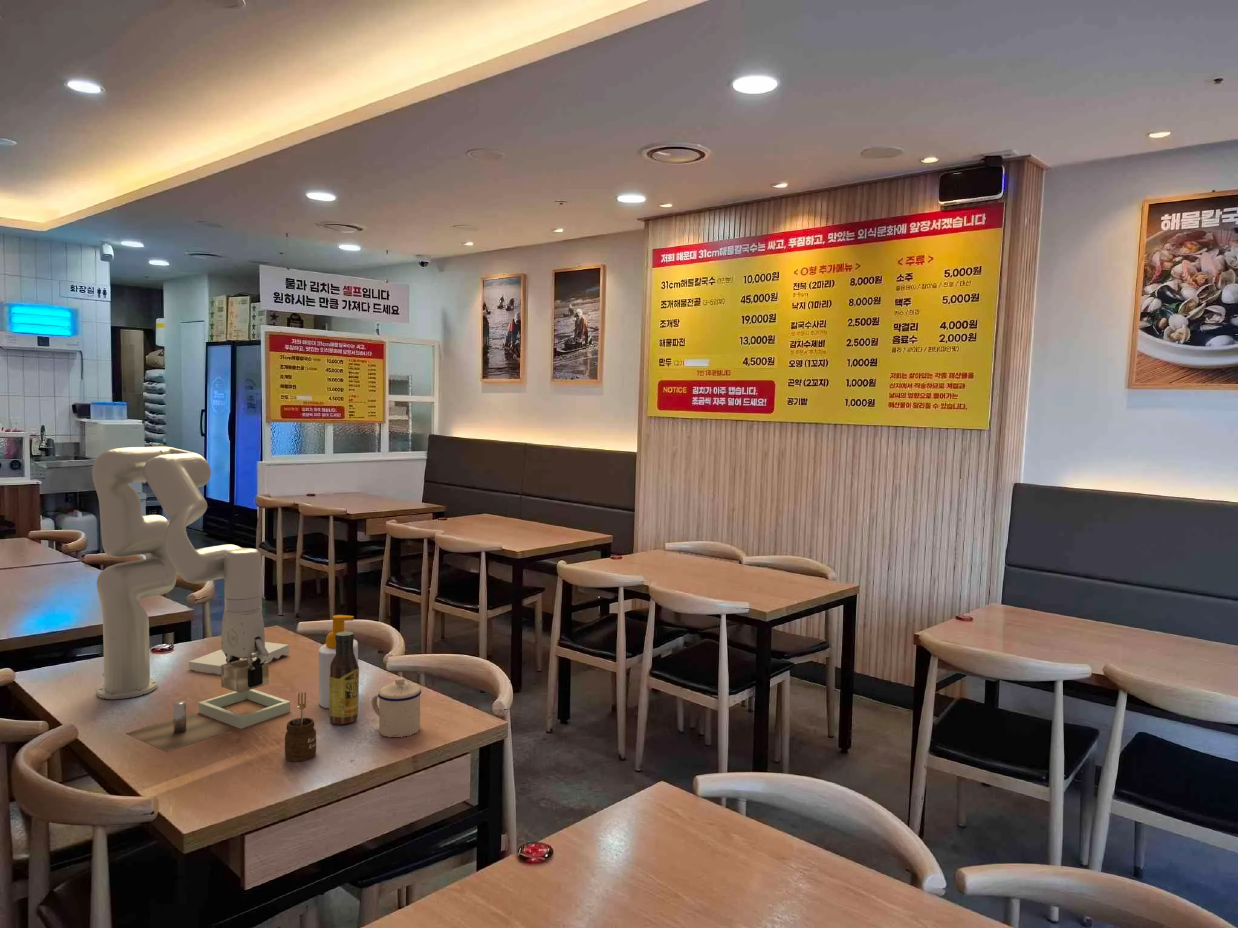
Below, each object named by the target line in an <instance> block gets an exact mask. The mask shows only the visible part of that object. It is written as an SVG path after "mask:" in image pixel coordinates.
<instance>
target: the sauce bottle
mask: <svg viewBox="0 0 1238 928" xmlns="http://www.w3.org/2000/svg"><path fill="white" fill-rule="evenodd" d="M345 631H346V632H338V633H336V634H335V640H336V655H335V657H334V658H333V660H332V662H331V665H330V688H329V708H328V709H329V710H328V711H329V712H328V714H329V720H330V723H331V724H333V725H348V724H351V723H354V722H355V721H357V719H358V714H359V694H360V693H359V691H360V690H359V689H360V688H359V687H360V686H359V685H360V684H359V683H360V682H359V681H360V667H359V663H358V664H357V661H356V658H355V655H354V652H353V651H354V650H353V640H354V639H355V632H352V631H347V630H345Z"/></svg>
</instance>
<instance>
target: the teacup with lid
mask: <svg viewBox="0 0 1238 928" xmlns="http://www.w3.org/2000/svg"><path fill="white" fill-rule="evenodd" d="M421 694H422V690H421V687H420V686H419V685H417V684H415V683H411V682H409V681H406V680H405V678H404V677H396V678H395V679H394V681H393V682H391V683H390V684H386V685H385V686H383V687H381V688H380V689H379V690H378V693H377V694H375V695H374V696H372V698H371V706H372V709H373V711H374V713H375V715H377V716H378V717H379V720H378V723H379V725H378V728H379V731H378V732H379V733H380V735H382V736H383V737H386V736H387V737H386V738H390V737H401V738H406V737H405V736H407V737H410V736H413V735H415V734H417V733H418V732H419V731H420V728H421ZM378 700H379V701H378ZM378 704H379V705H378ZM416 732H417V733H416ZM414 733H415V734H414ZM412 734H413V735H412ZM409 735H410V736H409ZM403 736H404V737H403Z"/></svg>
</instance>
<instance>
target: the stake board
mask: <svg viewBox="0 0 1238 928" xmlns="http://www.w3.org/2000/svg"><path fill="white" fill-rule="evenodd" d="M186 724H187V731H185V732H183V733H174V723H173V718H171V719H167V720H163V721H161V722H158V723H157V722H156V723H154V724H152V725H151V724H150V725H147V726H145V727H141V728H138V729H135V730H131V731H129V732H126V733H125V734H126V735H128V736H131V737H133V738H135V739H138V740H139V741H142V742H144V743H145V744H148V745H150V746H152V747H155V748H157V749H159V750H162V751H164V752H166V753H168V752H171V751H174V750H177V749H180V748H183V747H186V746H189V745H192V744H194V743H198V742H201V741H204V740H206V739H210V738H212V737H215V736H218V735H221V734H223V733H226V732H227V733H228V732H230V731H233V730H234V728H232V727H229V726H227V725H224V724H222V723H219V722H216V721H213V720H211V719H208V718H206V717H203V716H201V715H199V714H196V713H193V712H189V713H186Z"/></svg>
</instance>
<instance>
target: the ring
mask: <svg viewBox="0 0 1238 928" xmlns="http://www.w3.org/2000/svg"><path fill="white" fill-rule="evenodd" d="M252 659H253V662H255V660H256V659H255V658H252ZM249 669H250V667H249V664H248V661H247V658H246V659H241V660H237V661H233V662H230V663H226V664H222V665H221V675H220V682H221V683H220V687H221V688H224V689H227V690H229V691H232V692H234V691H235V692H239V693H241V692H244V691H248V690H251V689H254V690H255V689H256V688H260V687H264V686H266V685H269V684H270V683H269V682H270V681H269V680H270V678H269V677H270V676H269V663H268V662H266V661H265V663H264V667H262V672H263V683H262V684H261V685H258V686H254V687H251V688H250V687H248V670H249Z"/></svg>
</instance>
